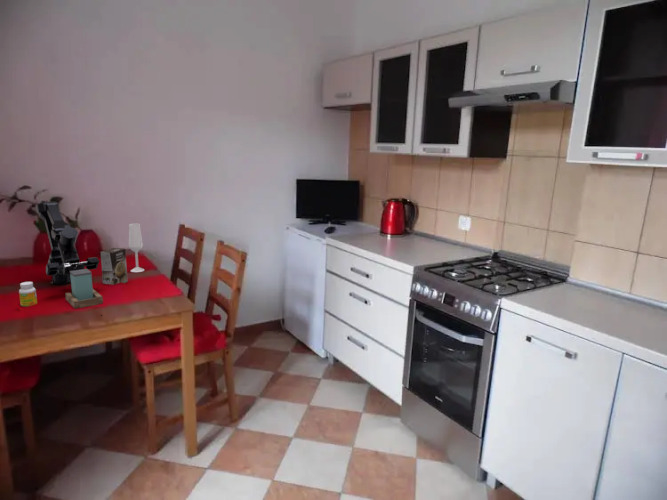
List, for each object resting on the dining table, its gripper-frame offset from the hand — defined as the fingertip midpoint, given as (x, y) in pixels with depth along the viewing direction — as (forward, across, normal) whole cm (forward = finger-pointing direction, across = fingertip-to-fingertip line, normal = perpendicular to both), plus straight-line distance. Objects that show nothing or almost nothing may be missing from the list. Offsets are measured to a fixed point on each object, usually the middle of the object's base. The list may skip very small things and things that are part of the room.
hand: (78, 283), depth 179 cm
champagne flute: (-16, -34, -26) cm, 46 cm away
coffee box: (-4, -18, -15) cm, 24 cm away
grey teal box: (+7, 0, -1) cm, 7 cm away
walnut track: (+9, 0, -1) cm, 10 cm away
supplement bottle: (+3, +17, -8) cm, 19 cm away
